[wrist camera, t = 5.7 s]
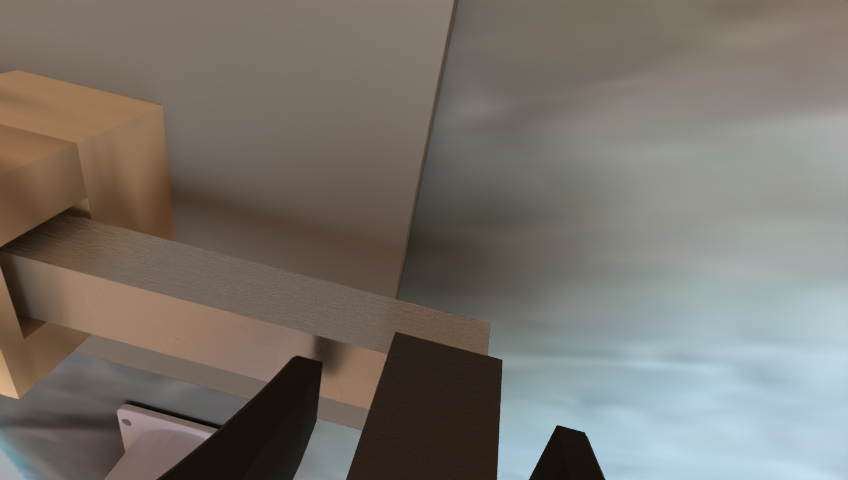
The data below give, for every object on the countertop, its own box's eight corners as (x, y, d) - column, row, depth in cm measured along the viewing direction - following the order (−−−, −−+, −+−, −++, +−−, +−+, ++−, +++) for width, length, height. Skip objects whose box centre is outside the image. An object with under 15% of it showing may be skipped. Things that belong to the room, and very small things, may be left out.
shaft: (476, 390, 14) (452, 622, 9) (-16, 258, 15) (-277, 409, 10) (504, 311, 13) (494, 539, 8) (-47, 168, 13) (-376, 294, 8)
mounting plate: (373, 414, 23) (367, 431, 22) (14, 316, 24) (-4, 329, 23) (476, -95, 13) (473, -99, 12) (-167, -236, 13) (-214, -249, 13)
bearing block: (177, 258, 19) (19, 399, 13) (55, 226, 19) (-155, 350, 13) (163, 105, 16) (-55, 199, 10) (17, 69, 16) (-281, 139, 10)
